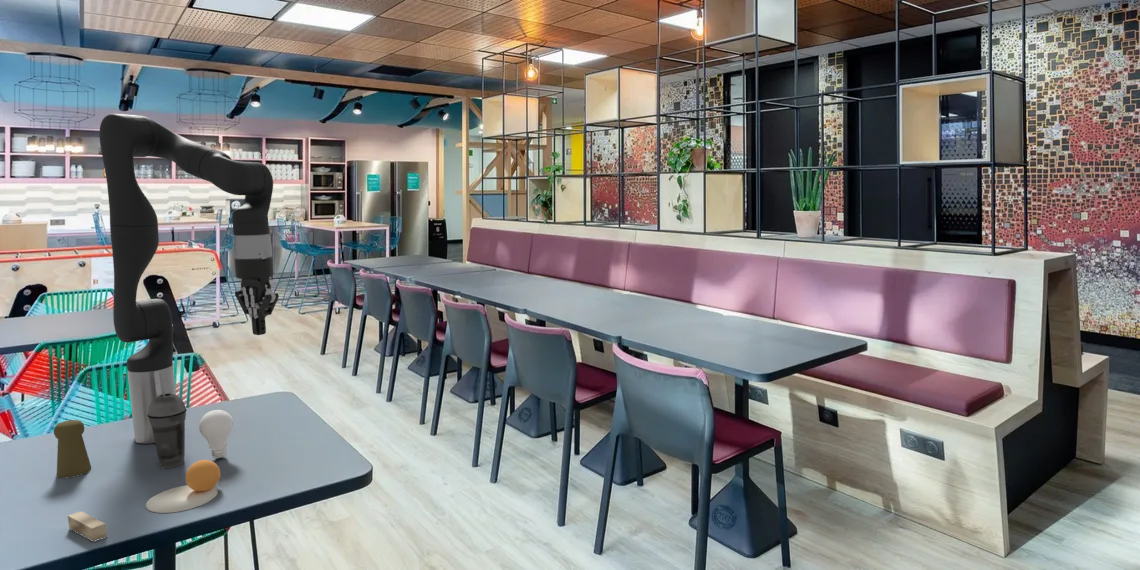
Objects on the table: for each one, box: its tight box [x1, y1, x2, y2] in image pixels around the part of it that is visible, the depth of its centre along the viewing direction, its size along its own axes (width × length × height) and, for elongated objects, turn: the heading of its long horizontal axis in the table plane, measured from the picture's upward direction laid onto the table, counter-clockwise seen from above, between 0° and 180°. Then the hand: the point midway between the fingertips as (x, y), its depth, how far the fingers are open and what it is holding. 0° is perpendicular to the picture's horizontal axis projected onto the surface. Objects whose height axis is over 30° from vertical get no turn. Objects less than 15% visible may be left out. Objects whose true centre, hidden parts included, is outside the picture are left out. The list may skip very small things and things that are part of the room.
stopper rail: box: [67, 510, 108, 541], centre depth 119 cm, size 9×2×2 cm, turn 57°
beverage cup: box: [148, 373, 188, 469], centre depth 148 cm, size 7×7×20 cm
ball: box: [185, 459, 221, 492], centre depth 135 cm, size 6×6×6 cm
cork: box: [53, 419, 92, 479], centre depth 145 cm, size 6×6×11 cm
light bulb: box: [198, 409, 234, 460], centre depth 151 cm, size 7×7×11 cm
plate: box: [145, 484, 219, 514], centre depth 132 cm, size 12×12×1 cm
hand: (259, 334), depth 151 cm, fingers closed
